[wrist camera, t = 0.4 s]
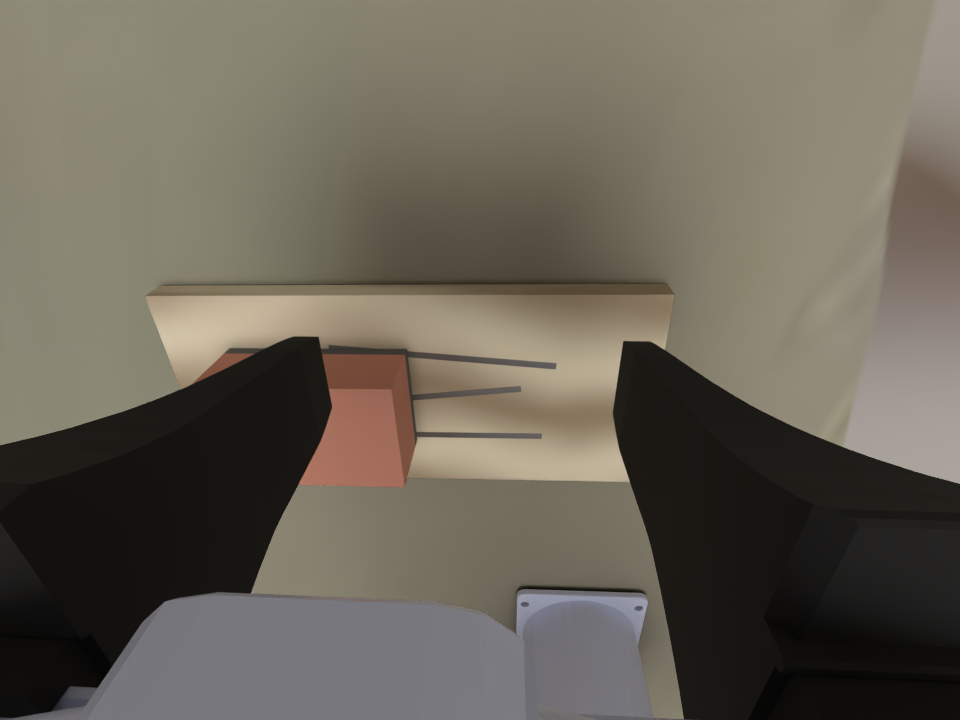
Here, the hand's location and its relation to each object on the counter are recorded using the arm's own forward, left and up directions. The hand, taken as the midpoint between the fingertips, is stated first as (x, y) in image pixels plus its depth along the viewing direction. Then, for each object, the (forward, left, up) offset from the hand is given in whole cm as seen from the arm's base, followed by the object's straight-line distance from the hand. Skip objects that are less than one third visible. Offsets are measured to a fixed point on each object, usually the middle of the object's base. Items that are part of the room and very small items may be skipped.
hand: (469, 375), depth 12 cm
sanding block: (-6, +8, -9) cm, 13 cm away
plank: (-6, +4, -10) cm, 12 cm away
